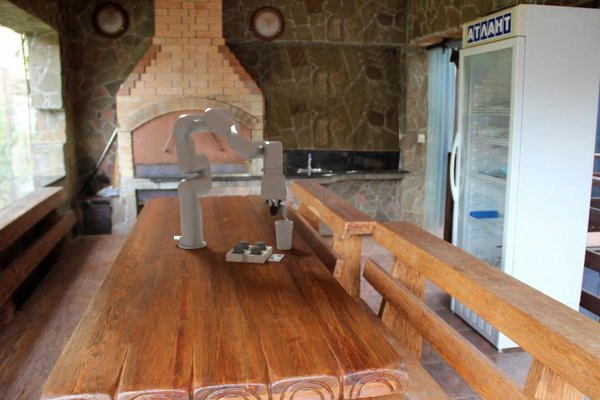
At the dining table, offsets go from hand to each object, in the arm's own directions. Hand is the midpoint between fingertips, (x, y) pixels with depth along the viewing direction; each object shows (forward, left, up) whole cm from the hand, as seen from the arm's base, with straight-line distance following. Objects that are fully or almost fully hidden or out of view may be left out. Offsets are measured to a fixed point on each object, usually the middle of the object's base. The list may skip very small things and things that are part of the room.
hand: (274, 215), depth 238 cm
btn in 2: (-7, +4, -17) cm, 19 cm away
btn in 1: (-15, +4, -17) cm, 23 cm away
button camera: (-7, -3, -17) cm, 19 cm away
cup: (0, +18, -19) cm, 26 cm away
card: (+1, 0, -19) cm, 19 cm away
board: (-11, 0, -19) cm, 22 cm away
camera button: (-15, -3, -17) cm, 23 cm away
